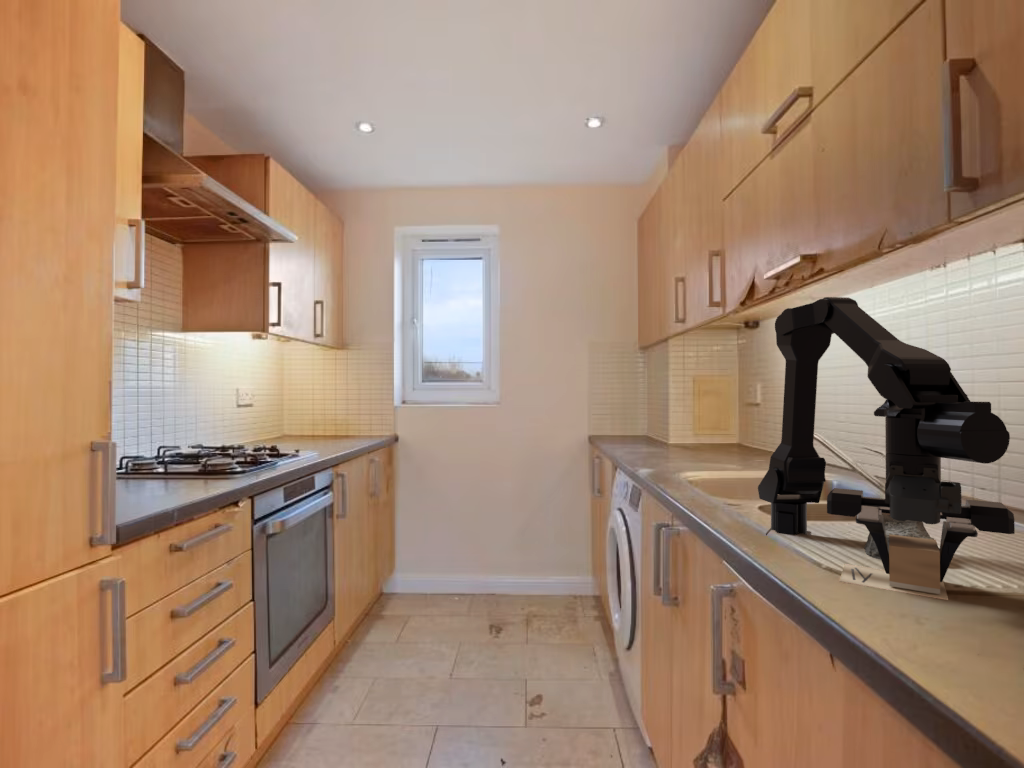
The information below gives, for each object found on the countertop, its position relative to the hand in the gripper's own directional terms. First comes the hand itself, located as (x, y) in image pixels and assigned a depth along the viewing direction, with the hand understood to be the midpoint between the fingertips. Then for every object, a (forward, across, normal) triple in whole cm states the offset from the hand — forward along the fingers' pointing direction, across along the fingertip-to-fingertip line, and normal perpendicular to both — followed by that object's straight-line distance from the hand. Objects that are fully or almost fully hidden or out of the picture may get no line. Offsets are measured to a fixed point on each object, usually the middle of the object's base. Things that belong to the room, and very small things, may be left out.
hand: (913, 577), depth 71 cm
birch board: (+2, -2, 0) cm, 3 cm away
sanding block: (+1, 0, 0) cm, 1 cm away
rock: (+2, -2, +16) cm, 16 cm away
